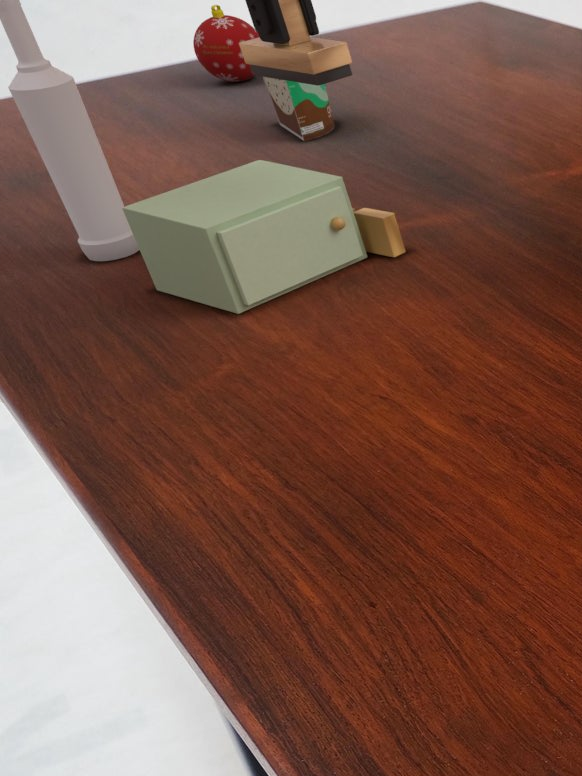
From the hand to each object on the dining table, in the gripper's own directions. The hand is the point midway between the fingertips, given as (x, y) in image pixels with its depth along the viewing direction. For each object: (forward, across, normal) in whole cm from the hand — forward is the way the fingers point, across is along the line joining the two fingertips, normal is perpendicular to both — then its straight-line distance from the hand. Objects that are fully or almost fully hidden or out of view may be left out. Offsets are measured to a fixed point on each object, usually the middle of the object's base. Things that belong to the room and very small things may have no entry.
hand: (290, 36), depth 111 cm
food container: (+21, -28, -41) cm, 54 cm away
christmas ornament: (+21, -38, -70) cm, 82 cm away
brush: (+3, 0, 0) cm, 3 cm away
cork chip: (+19, -2, 0) cm, 19 cm away
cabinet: (+21, +6, -7) cm, 23 cm away
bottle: (+21, +8, -26) cm, 34 cm away
